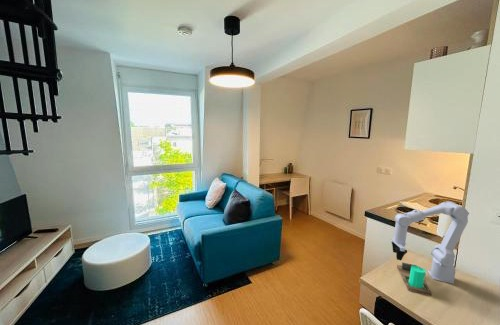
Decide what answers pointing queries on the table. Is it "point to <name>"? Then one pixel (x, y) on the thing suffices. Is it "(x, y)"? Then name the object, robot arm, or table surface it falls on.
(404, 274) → the brown compartment tray
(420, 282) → the candle
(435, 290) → the table surface
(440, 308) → the table surface
